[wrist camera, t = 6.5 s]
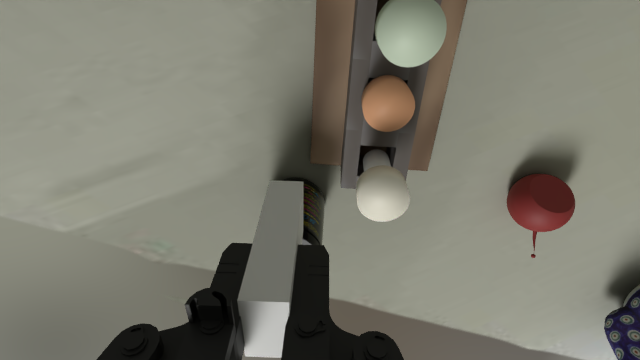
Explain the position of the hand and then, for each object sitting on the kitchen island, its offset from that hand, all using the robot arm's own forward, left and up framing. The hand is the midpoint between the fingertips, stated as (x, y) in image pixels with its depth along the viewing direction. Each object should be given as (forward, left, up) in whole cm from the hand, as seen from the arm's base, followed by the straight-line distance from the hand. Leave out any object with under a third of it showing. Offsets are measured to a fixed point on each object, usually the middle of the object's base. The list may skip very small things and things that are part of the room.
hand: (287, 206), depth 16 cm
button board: (+6, 0, -21) cm, 22 cm away
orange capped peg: (+6, 0, -20) cm, 21 cm away
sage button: (+6, +6, -16) cm, 18 cm away
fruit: (+24, -12, -21) cm, 35 cm away
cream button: (+6, -6, -16) cm, 18 cm away
